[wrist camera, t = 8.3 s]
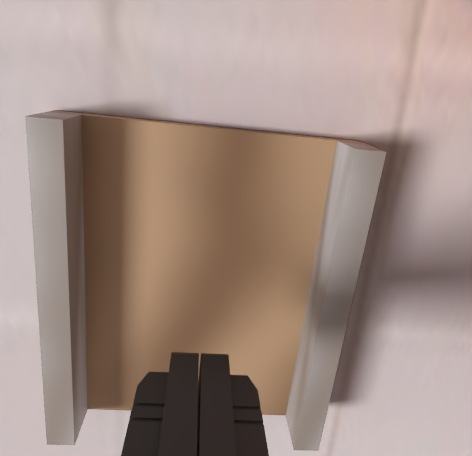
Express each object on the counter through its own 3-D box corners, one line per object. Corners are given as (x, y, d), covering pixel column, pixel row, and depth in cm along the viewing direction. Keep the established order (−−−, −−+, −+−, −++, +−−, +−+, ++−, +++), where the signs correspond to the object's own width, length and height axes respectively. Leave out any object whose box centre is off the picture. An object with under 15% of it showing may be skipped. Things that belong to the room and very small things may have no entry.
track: (67, 397, 18) (46, 444, 15) (55, 110, 14) (25, 116, 11) (304, 405, 19) (318, 450, 16) (358, 141, 15) (386, 152, 12)
